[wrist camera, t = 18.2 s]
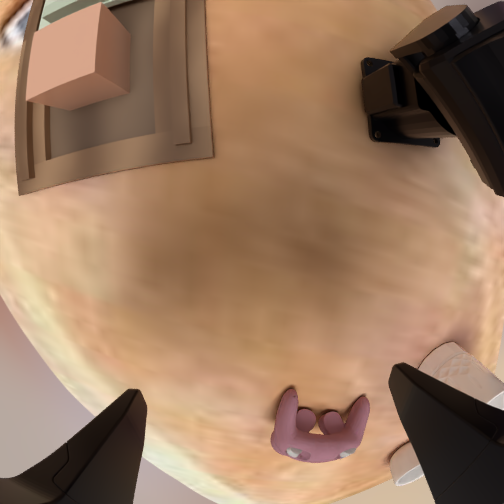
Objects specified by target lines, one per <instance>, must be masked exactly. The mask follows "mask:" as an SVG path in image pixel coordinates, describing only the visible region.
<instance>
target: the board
mask: <svg viewBox="0 0 504 504" xmlns="http://www.w3.org/2000/svg"><path fill="white" fill-rule="evenodd" d="M45 1H46V0H33V3H32V7H31V10H30V14H29V18H28V22H27V26H26V30H25V35H24V40H23V45H22V50H21V56H20V63H19V70H18V78H17V89H16V102H15V158H16V172H17V183H18V191H19V196H20V195H24V194H28V193H31V192H35V191H38V190H42V189H45V188H49V187H53V186H56V185H60V184H64V183H68V182H72V181H76V180H81V179H85V178H89V177H94V176H98V175H103V174H108V173H113V172H118V171H123V170H129V169H134V168H140V167H146V166H152V165H158V164H165V163H172V162H179V161H187V160H195V159H204V158H213V157H214V150H213V137H212V124H211V110H210V94H209V78H208V60H207V39H206V14H205V0H130V1H127V2H123V3H120V4H117V5H114V6H111V7H108V9H109V10H110V12H111V13H112V14H113V15H114V16H115V17H116V18H117V19H118V20H119V22H120V23H121V24H122V25H123V26H124V27H125V28H126V30H127V31H128V32H129V33H130V34H131V40H130V93H129V94H125V95H121V96H117V97H113V98H109V99H106V100H102V101H99V102H96V103H93V104H89V105H86V106H83V107H80V108H77V109H74V110H71V111H69V110H65V109H61V108H56V107H52V106H48V105H43V104H39V103H34V102H29V101H26V88H27V77H28V68H29V60H30V53H31V47H32V41H33V36H34V33H35V32H36V31H38V30H39V25H40V21H41V16H42V12H43V8H44V5H45Z"/></svg>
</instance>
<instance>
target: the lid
mask: <svg viewBox="0 0 504 504" xmlns="http://www.w3.org/2000/svg"><path fill="white" fill-rule="evenodd" d="M127 1H130V0H46V1H45V5H44V8H43V12H42V16H41V21H40V25H39V30H40V29H42V28H44V27H46V26H47V25H49V24H51V23H53V22H55V21H57V20H59V19H61V18H64V17H66V16H68V15H70V14H72V13H75V12H77V11H79V10H82V9H84V8H86V7H89V6H91V5H94V4H97V3H99V2H102V3H103V4H104V5H105V6H106V7H107V8H108V7H111V6H114V5H117V4H120V3H123V2H127Z"/></svg>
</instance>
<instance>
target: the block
mask: <svg viewBox="0 0 504 504" xmlns="http://www.w3.org/2000/svg"><path fill="white" fill-rule="evenodd" d="M130 40H131V34H130V33H129V32H128V31H127V30H126V28H125V27H124V26H123V25H122V24H121V23H120V22H119V20H118V19H117V18H116V17H115V16H114V15H113V14H112V13H111V12H110V10H109V9H108V8H107V7H106V6H105V5H104V4H103V3H102V2H99V3H97V4H94V5H91V6H89V7H86V8H84V9H82V10H79V11H77V12H75V13H72V14H70V15H68V16H66V17H64V18H61V19H59V20H57V21H55V22H53V23H51V24H49V25H47V26H46V27H44V28H42V29H40V30H38V31H36V32H35V33H34V36H33V41H32V47H31V53H30V60H29V68H28V77H27V88H26V101H29V102H34V103H39V104H43V105H48V106H52V107H56V108H61V109H65V110H69V111H71V110H74V109H77V108H80V107H83V106H86V105H89V104H93V103H96V102H99V101H102V100H106V99H109V98H113V97H117V96H121V95H125V94H129V93H130Z"/></svg>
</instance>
